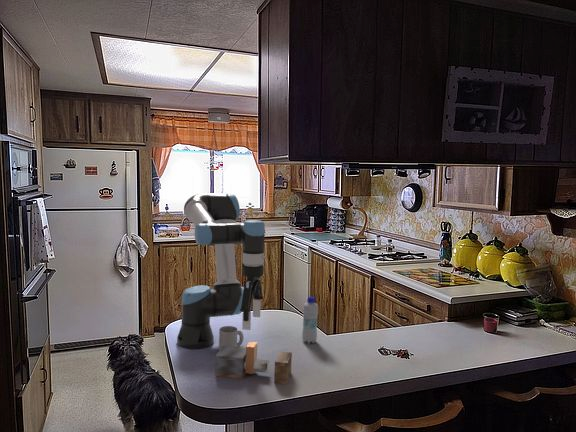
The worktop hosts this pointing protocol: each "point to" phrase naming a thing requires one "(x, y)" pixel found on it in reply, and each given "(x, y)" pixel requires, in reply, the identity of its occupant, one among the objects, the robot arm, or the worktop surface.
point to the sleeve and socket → (233, 364)
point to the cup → (229, 337)
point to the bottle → (310, 320)
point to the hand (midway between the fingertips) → (251, 322)
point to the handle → (254, 360)
